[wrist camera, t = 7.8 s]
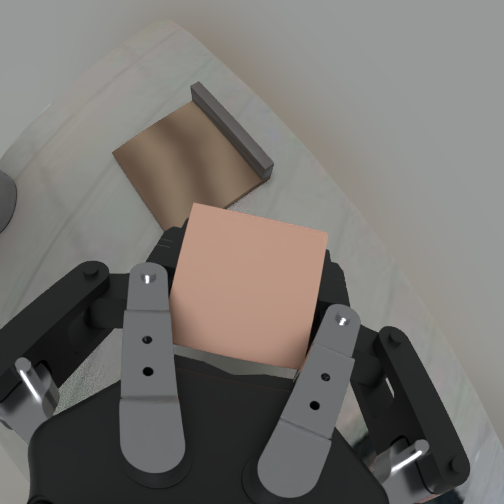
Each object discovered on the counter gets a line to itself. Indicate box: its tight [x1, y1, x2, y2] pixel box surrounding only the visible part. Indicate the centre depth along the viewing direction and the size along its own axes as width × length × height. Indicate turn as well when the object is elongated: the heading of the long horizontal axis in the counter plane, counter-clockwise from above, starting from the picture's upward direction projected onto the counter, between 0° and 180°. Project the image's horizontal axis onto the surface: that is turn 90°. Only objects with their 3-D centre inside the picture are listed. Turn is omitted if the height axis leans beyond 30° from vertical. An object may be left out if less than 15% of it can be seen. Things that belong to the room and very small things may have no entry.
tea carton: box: [169, 203, 328, 370], centre depth 15 cm, size 5×5×9 cm
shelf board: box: [112, 82, 274, 231], centre depth 34 cm, size 13×14×4 cm
